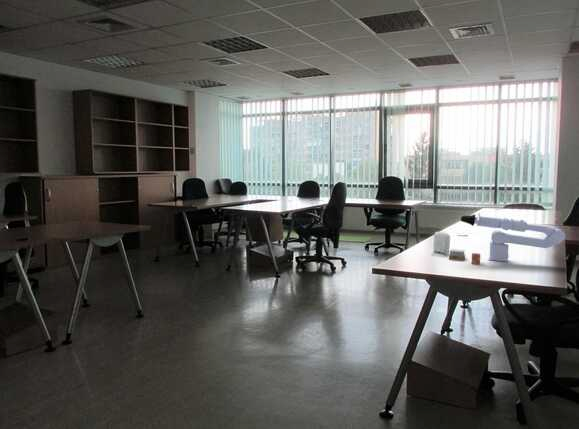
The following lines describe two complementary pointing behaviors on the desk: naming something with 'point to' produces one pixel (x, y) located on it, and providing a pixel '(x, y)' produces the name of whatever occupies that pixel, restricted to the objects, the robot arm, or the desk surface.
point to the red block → (475, 258)
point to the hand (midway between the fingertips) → (461, 218)
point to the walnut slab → (457, 257)
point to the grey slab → (456, 252)
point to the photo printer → (441, 242)
